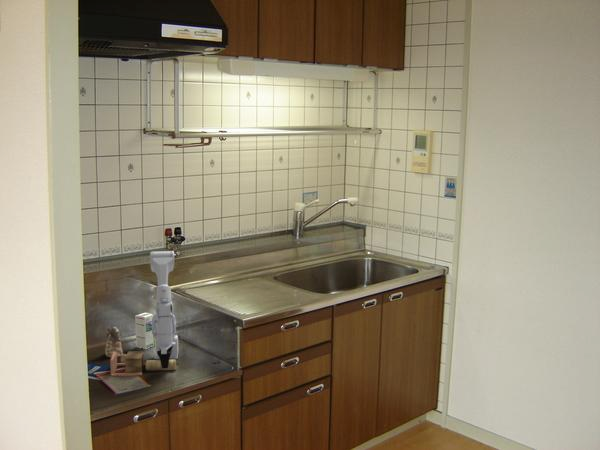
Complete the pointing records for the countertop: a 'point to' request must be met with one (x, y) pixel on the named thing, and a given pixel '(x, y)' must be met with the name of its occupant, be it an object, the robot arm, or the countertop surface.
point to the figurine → (113, 342)
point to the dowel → (159, 365)
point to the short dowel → (123, 357)
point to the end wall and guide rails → (114, 364)
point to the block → (134, 362)
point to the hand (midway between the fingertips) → (165, 365)
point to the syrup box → (144, 331)
